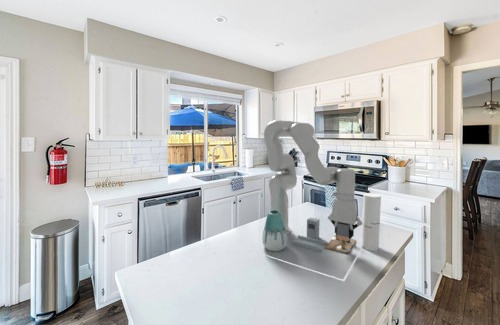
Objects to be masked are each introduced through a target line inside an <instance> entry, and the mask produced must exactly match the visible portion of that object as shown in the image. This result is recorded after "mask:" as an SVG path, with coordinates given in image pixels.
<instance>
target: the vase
mask: <svg viewBox="0 0 500 325" xmlns="http://www.w3.org/2000/svg"><path fill="white" fill-rule="evenodd" d="M261 240H262V244H263V247H264V248H265V249H266V250H268V251H270V252H281V251H283V250H284V249H285V248H286V246H287V245H288V234H287V233H286V228H285V225H284V221H283V217H282V215H281V213H280V212H279V211H278V210H271V209H270V210H269V211H268V213H267V215H266V219H265V223H264V227H263V232H262V238H261Z"/></svg>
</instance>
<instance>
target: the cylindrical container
mask: <svg viewBox="0 0 500 325" xmlns="http://www.w3.org/2000/svg"><path fill="white" fill-rule="evenodd" d="M381 202H382V195H381V194H380V193H379V194H378V193H374V192H373V193H372V192H371V193H370V192H367V193H363V203H362V220H361V222H362V225H361V226H362V227H361V230H362V231H361V244H360V245H361V248H362V249H364V250H365V251H369V252H370V251H371V252H376V251H378V250H379V246H380V245H379V244H380V225H381V224H380V221H381V204H382V203H381Z"/></svg>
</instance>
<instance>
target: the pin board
mask: <svg viewBox="0 0 500 325" xmlns="http://www.w3.org/2000/svg"><path fill="white" fill-rule="evenodd" d="M356 243H357V240H356V239H353V238H351V239H350V240H349V241H344V240H340V239H337V236H336V234H335V235H334V236H332V237H331V239H330V240H329V242H327V245H326V246H325V248H324V249H326V250H328V251H329V250H330V251H332V252H333V251H334V252H336V253H337V252H338V253H342V254H345V255H348V254H349V253H350V251H351V250H352V248H353V247H354V245H355V244H356Z"/></svg>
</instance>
